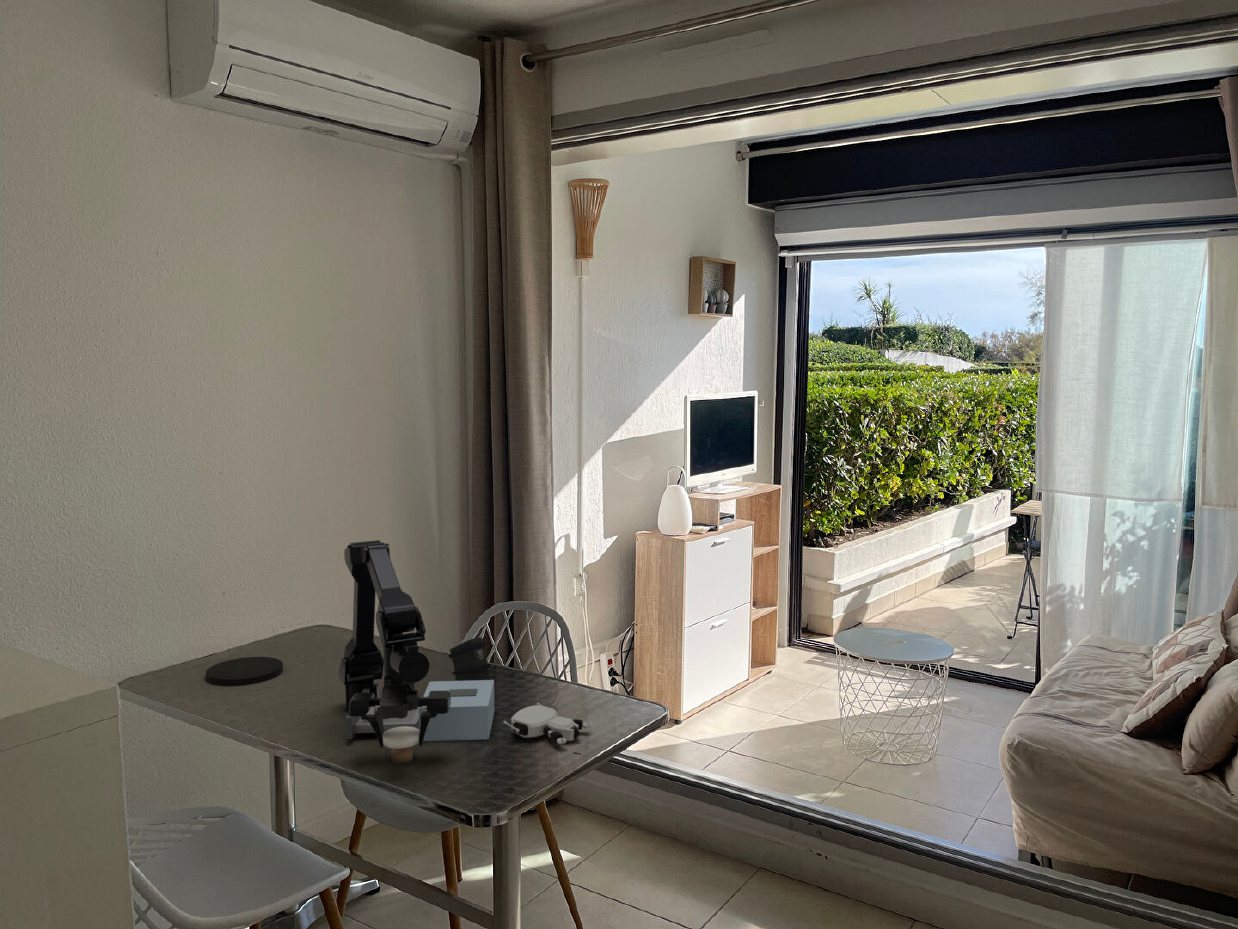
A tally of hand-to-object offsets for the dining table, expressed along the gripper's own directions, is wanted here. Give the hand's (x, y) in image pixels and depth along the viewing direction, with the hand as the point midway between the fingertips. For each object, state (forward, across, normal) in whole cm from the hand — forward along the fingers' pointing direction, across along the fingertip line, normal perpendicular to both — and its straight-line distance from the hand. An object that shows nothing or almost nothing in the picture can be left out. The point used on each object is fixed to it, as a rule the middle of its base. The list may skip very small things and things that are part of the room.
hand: (401, 746), depth 179 cm
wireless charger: (+3, -48, +54) cm, 73 cm away
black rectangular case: (+3, +10, +32) cm, 34 cm away
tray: (+1, -6, +17) cm, 17 cm away
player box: (+3, +9, +16) cm, 19 cm away
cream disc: (-1, 0, 0) cm, 1 cm away
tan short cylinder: (+3, 0, 0) cm, 3 cm away
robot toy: (+3, +28, +10) cm, 30 cm away
